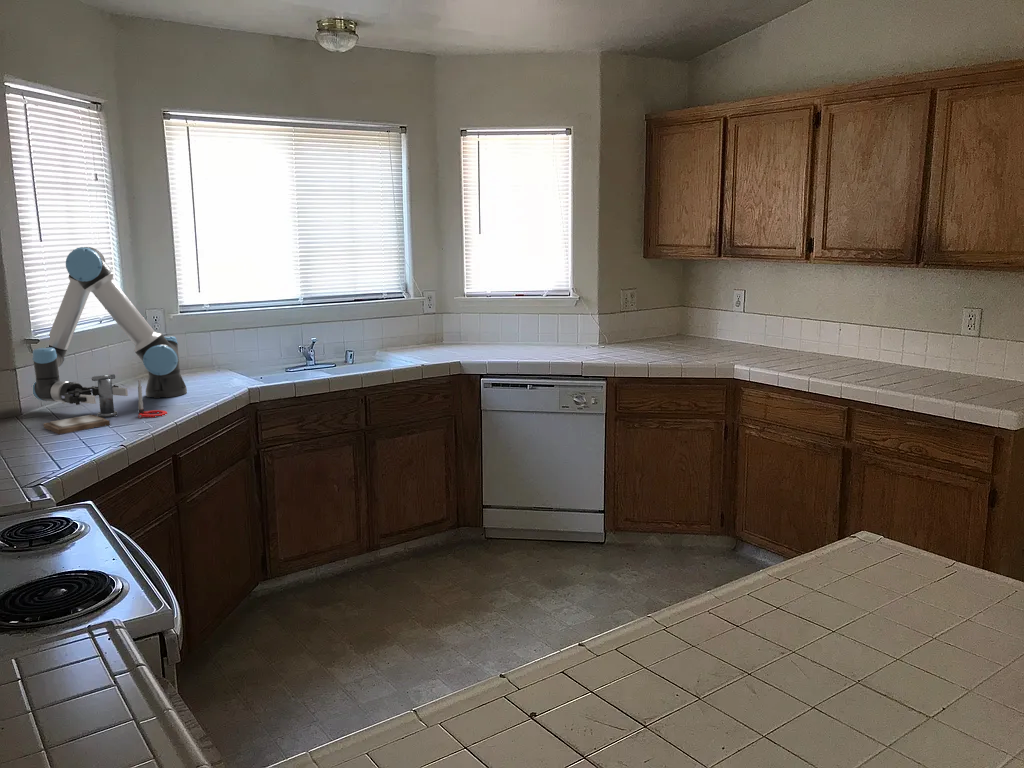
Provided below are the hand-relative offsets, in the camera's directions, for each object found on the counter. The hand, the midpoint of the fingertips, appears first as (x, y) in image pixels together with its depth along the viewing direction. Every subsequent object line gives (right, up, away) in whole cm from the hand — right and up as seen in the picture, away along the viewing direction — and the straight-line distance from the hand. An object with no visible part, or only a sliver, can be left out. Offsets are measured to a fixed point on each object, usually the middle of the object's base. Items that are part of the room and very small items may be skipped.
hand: (111, 395), depth 290 cm
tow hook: (+14, -7, +2) cm, 16 cm away
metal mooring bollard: (-3, -7, +3) cm, 8 cm away
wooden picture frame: (-6, -10, -12) cm, 17 cm away
